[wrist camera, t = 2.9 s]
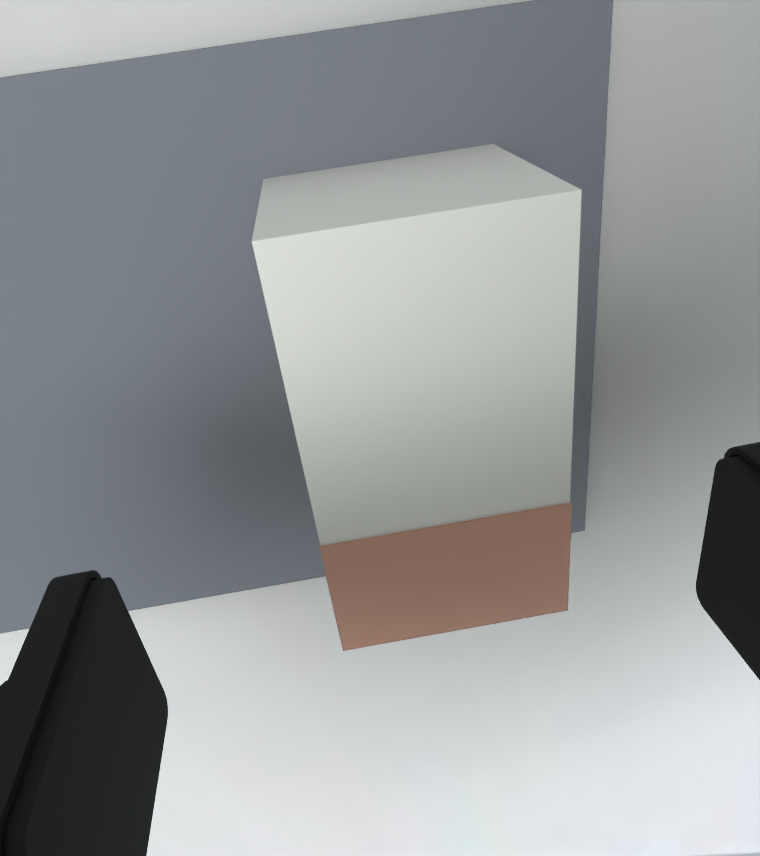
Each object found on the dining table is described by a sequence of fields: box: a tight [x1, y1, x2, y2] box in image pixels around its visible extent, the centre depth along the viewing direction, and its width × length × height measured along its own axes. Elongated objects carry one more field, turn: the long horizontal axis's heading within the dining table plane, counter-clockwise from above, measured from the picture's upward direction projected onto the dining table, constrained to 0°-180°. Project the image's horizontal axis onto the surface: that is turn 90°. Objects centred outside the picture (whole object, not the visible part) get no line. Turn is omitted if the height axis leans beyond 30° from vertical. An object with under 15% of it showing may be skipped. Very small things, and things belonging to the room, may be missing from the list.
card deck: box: [252, 144, 582, 651], centre depth 14 cm, size 5×9×5 cm, turn 7°
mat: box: [0, 0, 613, 633], centre depth 16 cm, size 24×14×1 cm, turn 97°
